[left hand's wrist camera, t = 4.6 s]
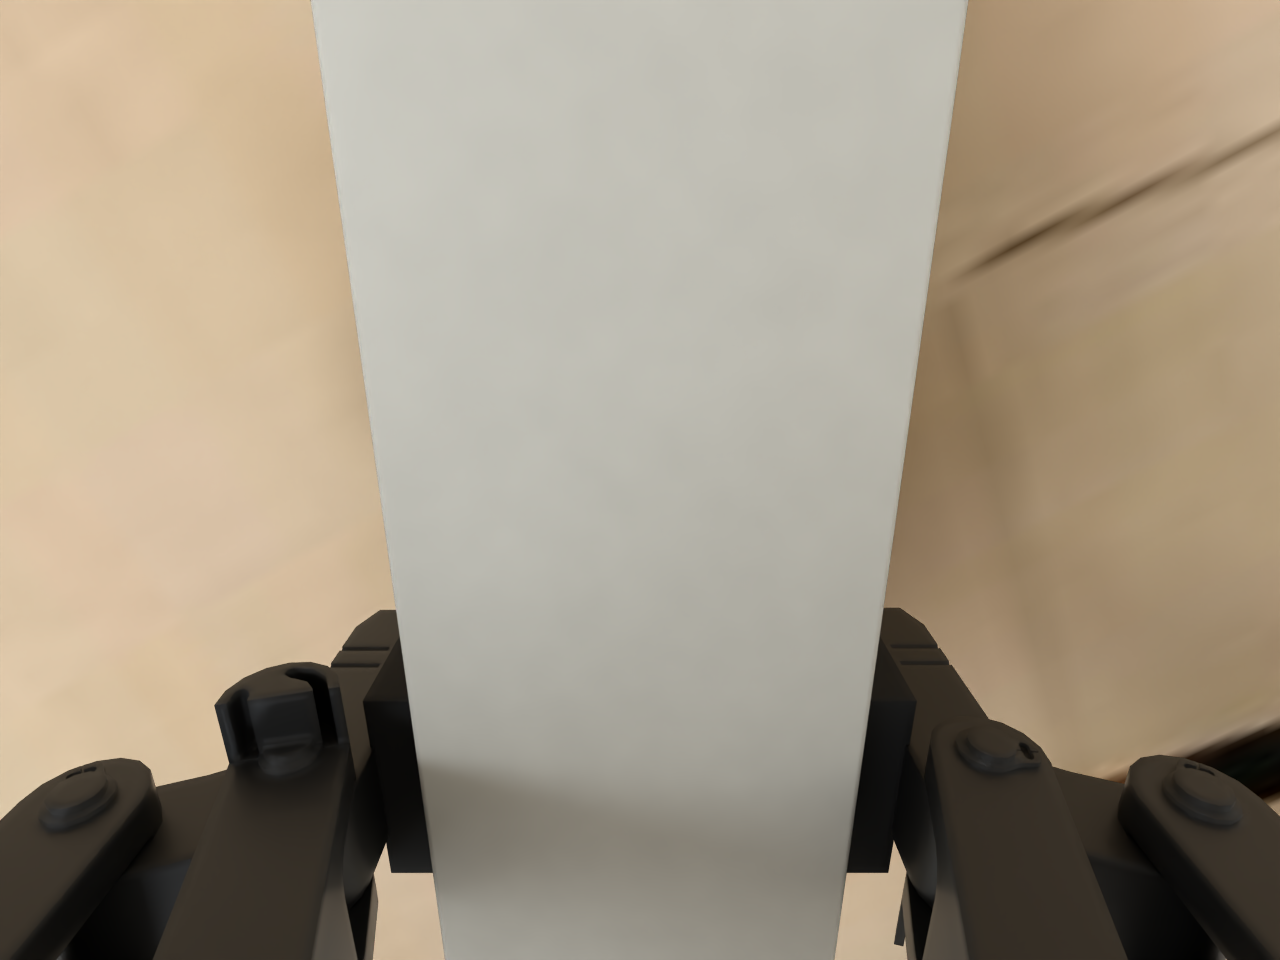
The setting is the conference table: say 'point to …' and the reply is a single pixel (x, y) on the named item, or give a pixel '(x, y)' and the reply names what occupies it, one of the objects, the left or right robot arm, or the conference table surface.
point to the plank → (639, 438)
